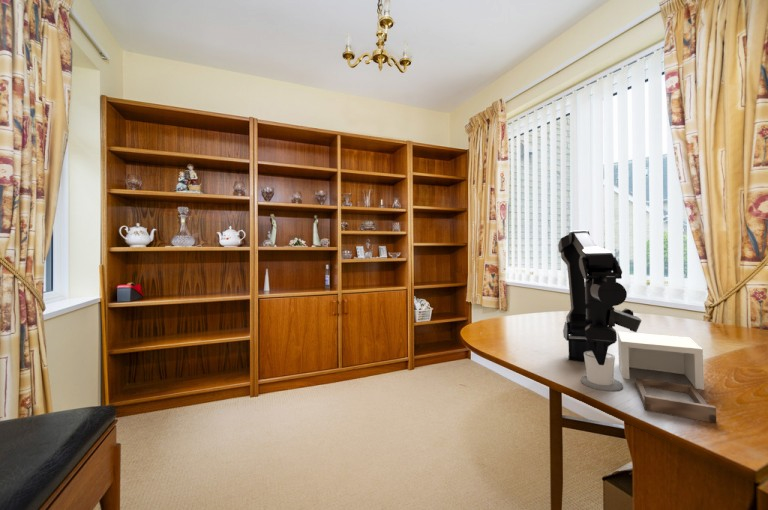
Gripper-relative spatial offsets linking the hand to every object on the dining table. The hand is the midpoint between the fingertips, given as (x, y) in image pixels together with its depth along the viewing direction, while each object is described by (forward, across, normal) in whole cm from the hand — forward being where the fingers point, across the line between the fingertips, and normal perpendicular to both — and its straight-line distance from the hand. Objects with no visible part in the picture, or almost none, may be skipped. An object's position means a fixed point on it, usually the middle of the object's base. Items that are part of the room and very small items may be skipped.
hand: (600, 359), depth 83 cm
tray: (+6, -3, -13) cm, 15 cm away
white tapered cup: (+6, +1, 0) cm, 6 cm away
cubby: (+6, +13, -13) cm, 20 cm away
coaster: (+6, 0, 0) cm, 7 cm away
